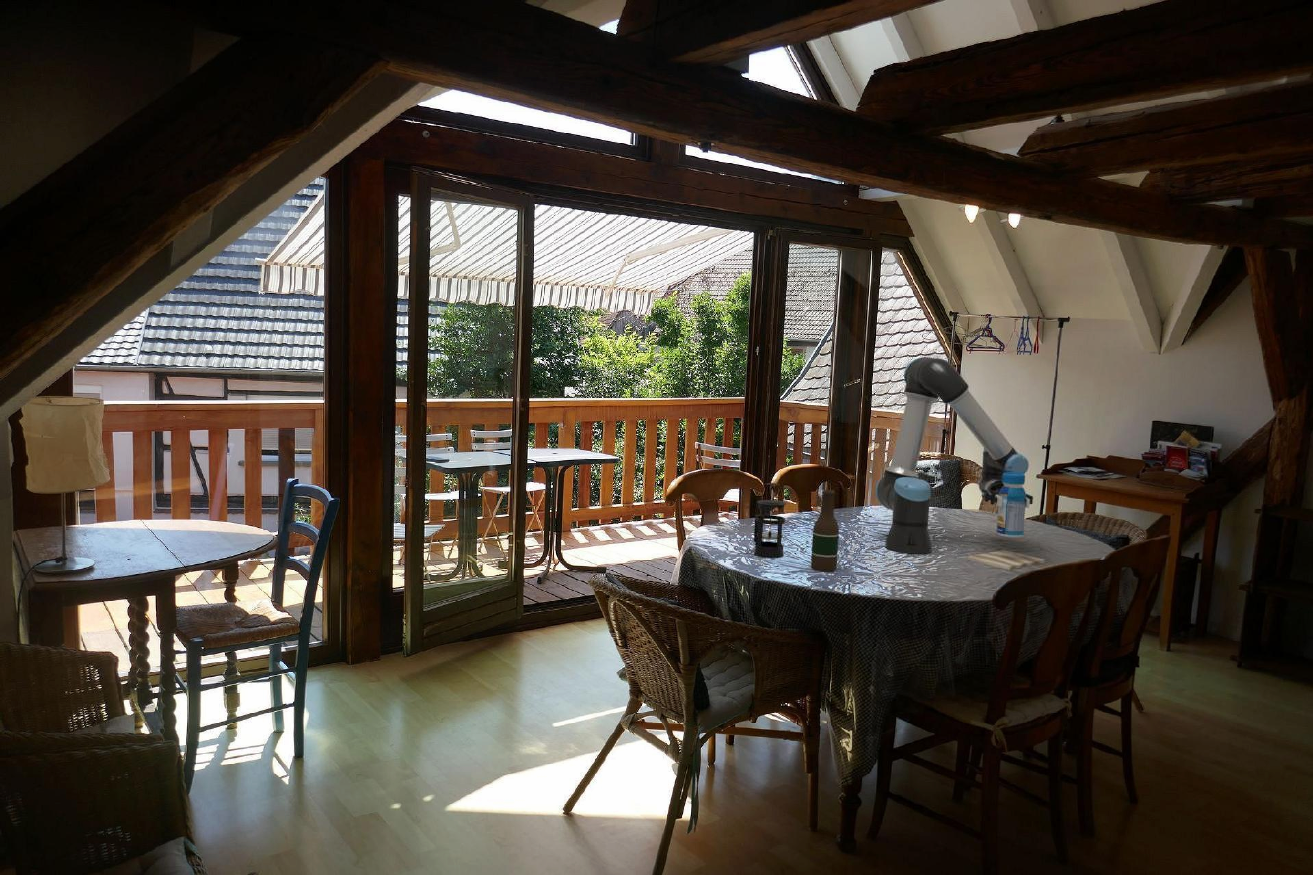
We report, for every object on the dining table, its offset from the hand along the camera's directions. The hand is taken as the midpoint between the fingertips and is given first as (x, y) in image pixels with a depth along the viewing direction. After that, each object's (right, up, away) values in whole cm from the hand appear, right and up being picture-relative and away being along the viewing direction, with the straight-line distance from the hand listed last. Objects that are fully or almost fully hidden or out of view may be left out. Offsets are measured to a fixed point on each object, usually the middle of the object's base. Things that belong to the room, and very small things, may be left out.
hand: (1014, 502), depth 304 cm
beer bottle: (-63, -19, -16) cm, 68 cm away
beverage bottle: (0, -11, +4) cm, 12 cm away
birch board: (-1, -19, +5) cm, 20 cm away
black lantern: (-79, -17, 0) cm, 80 cm away
